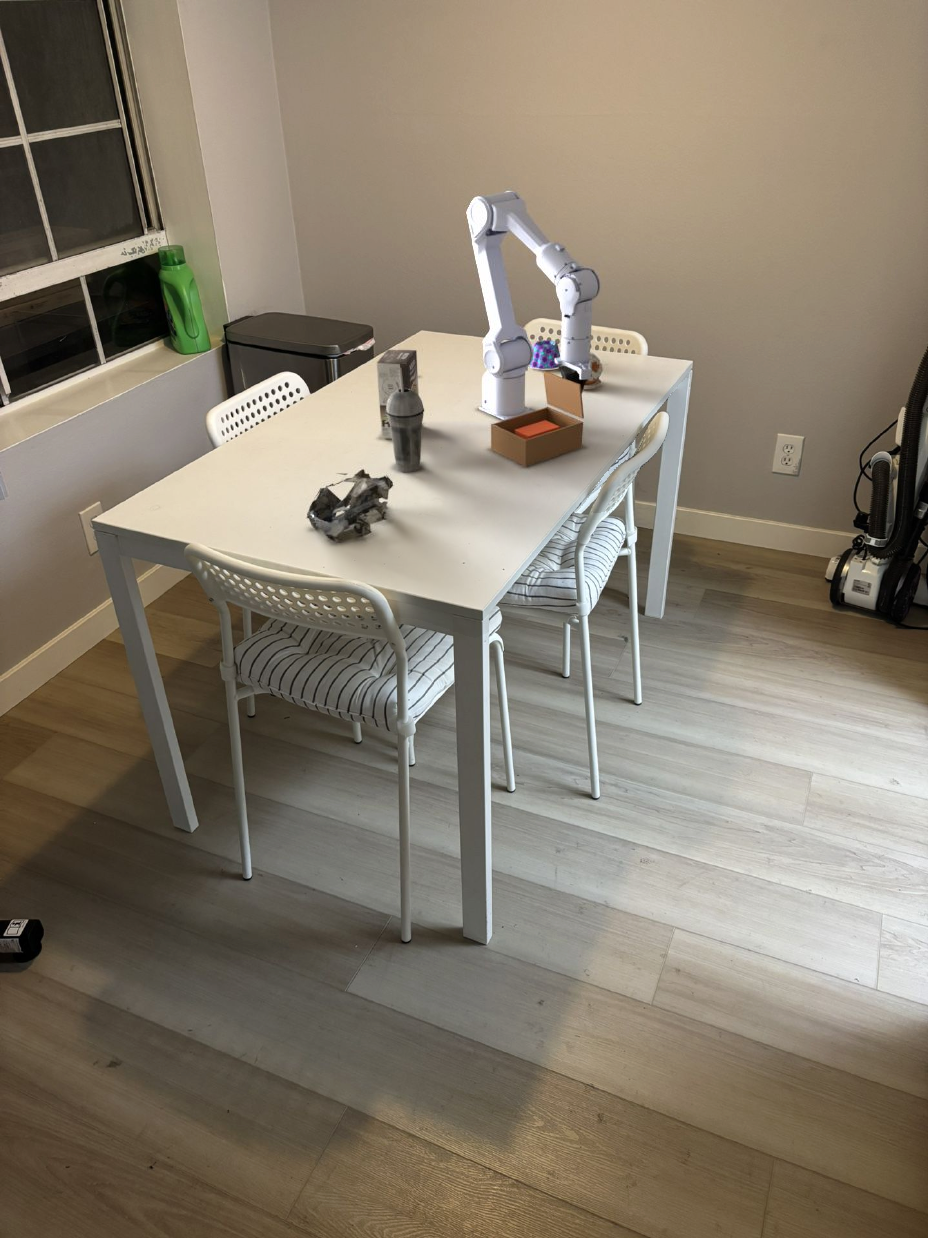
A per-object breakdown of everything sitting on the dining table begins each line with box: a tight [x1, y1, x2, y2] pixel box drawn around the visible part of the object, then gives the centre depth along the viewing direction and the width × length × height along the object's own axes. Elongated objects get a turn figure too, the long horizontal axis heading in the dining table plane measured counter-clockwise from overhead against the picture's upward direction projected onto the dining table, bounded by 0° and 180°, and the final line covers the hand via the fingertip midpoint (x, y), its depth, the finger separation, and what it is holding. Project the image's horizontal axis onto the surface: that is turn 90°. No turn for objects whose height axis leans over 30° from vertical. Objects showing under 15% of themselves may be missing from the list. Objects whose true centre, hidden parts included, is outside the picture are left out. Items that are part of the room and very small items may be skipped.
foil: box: [306, 468, 394, 544], centre depth 164 cm, size 12×11×15 cm
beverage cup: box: [386, 368, 425, 473], centre depth 180 cm, size 7×7×20 cm
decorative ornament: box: [583, 352, 604, 390], centre depth 217 cm, size 8×8×15 cm
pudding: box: [528, 339, 565, 371], centre depth 233 cm, size 12×12×5 cm
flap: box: [542, 370, 585, 420], centre depth 189 cm, size 7×11×1 cm
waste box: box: [490, 406, 584, 468], centre depth 190 cm, size 15×11×5 cm
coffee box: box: [376, 349, 420, 440], centre depth 196 cm, size 9×6×16 cm
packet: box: [515, 420, 559, 440], centre depth 190 cm, size 4×8×4 cm, turn 127°
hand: (573, 402), depth 192 cm, fingers closed
